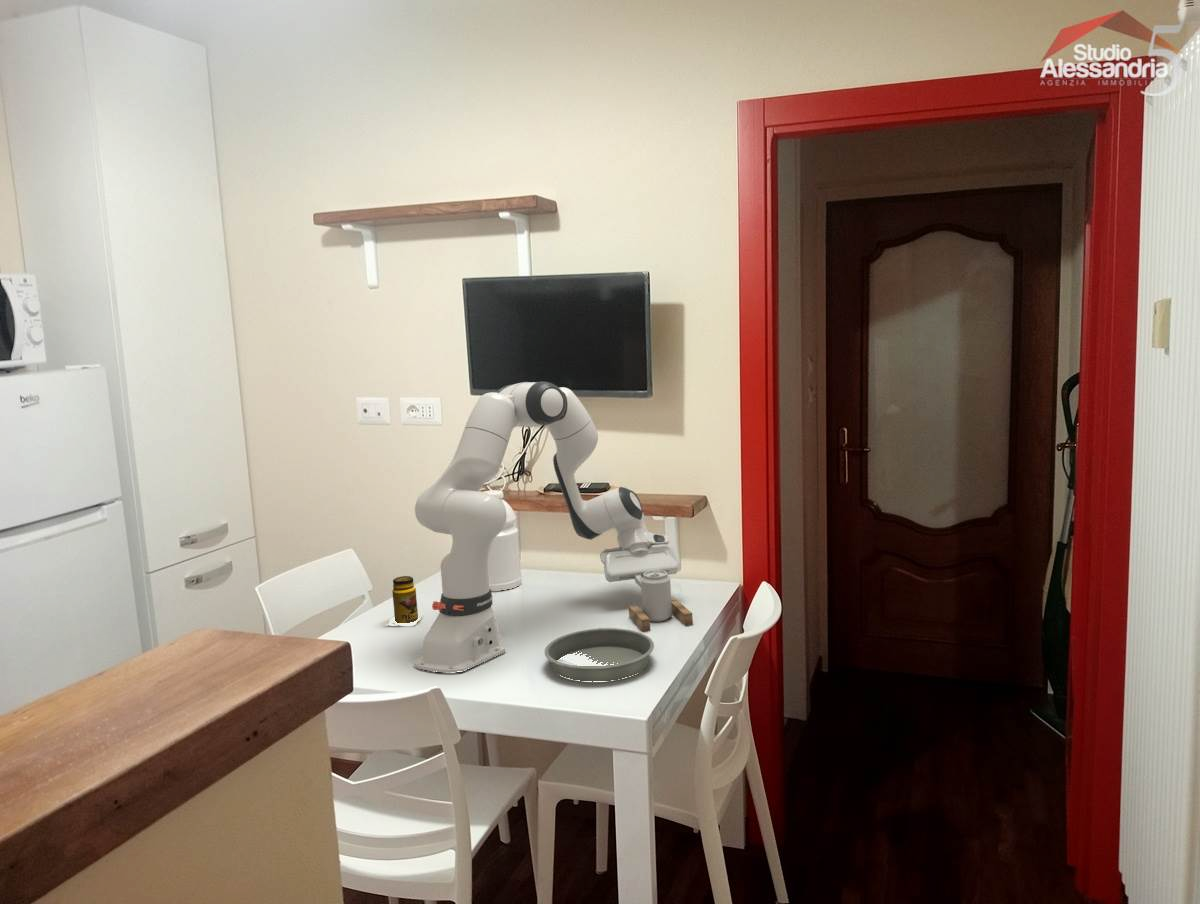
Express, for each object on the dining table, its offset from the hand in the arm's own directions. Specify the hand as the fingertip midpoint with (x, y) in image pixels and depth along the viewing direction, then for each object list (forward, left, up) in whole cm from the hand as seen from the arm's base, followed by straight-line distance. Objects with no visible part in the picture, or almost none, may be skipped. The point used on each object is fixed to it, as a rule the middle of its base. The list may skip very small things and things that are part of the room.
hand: (648, 590), depth 247 cm
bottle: (+9, +52, -6) cm, 53 cm away
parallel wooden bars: (-7, -6, -5) cm, 11 cm away
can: (-5, -4, -6) cm, 9 cm away
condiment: (-27, +59, -6) cm, 65 cm away
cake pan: (-38, -4, -6) cm, 39 cm away
